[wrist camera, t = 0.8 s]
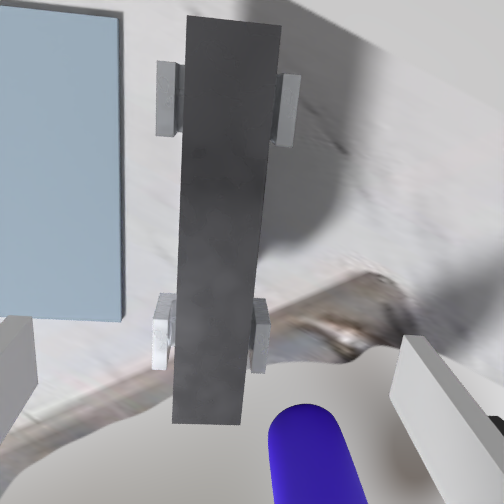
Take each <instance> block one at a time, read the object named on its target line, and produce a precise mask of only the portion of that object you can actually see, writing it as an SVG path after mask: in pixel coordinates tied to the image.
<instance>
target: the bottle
mask: <svg viewBox="0 0 504 504" xmlns="http://www.w3.org/2000/svg"><path fill="white" fill-rule="evenodd" d="M268 449H269V461H270V470H271V479H272V488H273V495H274V504H368V502H367V500H366V497H365V494H364V491H363V489H362V485H361V483H360V480H359V477H358V474H357V472H356V469H355V466H354V463H353V461H352V458H351V455H350V452H349V450H348V447H347V445H346V442H345V439H344V437H343V434H342V432H341V429H340V427H339V425H338V423H337V421H336V420H335V418H334V416H333V415H332V414H331V413H330V412H329V411H327V410H326V409H324V408H322V407H320V406H317V405H313V404H299V405H294V406H291V407H289V408H287V409H285V410H283V411H282V412H281V413H279V414H278V415H277V417H276V418H275V419H274V420H273V422H272V424H271V425H270V428H269V432H268Z"/></svg>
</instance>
